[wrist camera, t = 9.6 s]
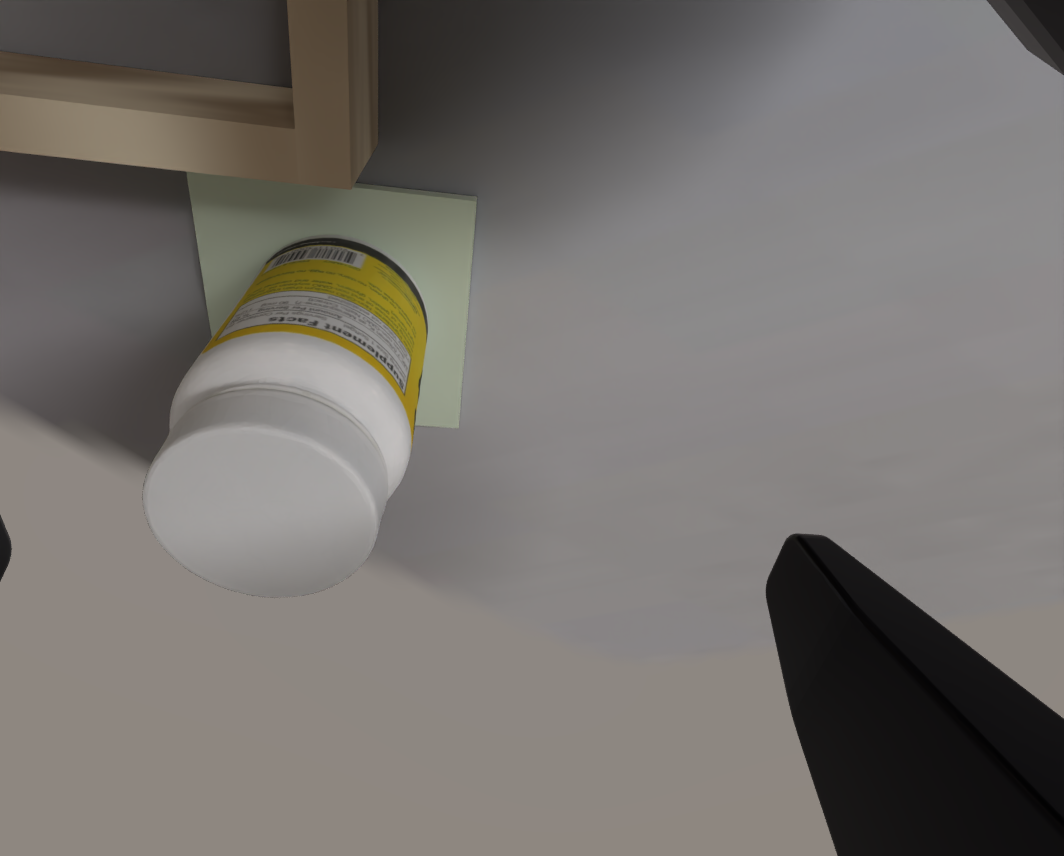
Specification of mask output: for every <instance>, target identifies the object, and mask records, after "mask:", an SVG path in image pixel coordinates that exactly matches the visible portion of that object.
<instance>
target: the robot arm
mask: <svg viewBox="0 0 1064 856" xmlns="http://www.w3.org/2000/svg"><path fill="white" fill-rule="evenodd" d="M987 1H988V2H989V4H990V5H991V6H992V7H993V9H994V10H995V11H996V12H997V13H998V15H999V16H1000V17H1001V18H1002V20H1003V21H1004V22H1005V23H1006V24H1007V26H1008V27H1009V28H1010V29H1011V31H1012V32H1013V33H1014V34H1015V35H1016V37H1017V38H1018V39H1019V40H1020V42H1021V43H1022V44H1023V45H1024V47H1025V48H1026V49H1027V50H1028V51H1030V52H1031V53H1032V54H1034V55H1035V56H1037V57H1038V58H1040V59H1041V60H1043V61H1044V62H1045V63H1047V64H1048V65H1050V66H1051V67H1053V68H1054V69H1055V70H1057V71H1058V72H1060V73H1061V74H1063V75H1064V0H987ZM11 550H12V548H11V540H10V538H9V535H8V532H7V530H6V528H5V525H4V523H3V520H2V518H1V515H0V581H1V579H2V577H3V574H4V572H5V570H6V568H7V566H8V564H9V561H10V557H11ZM766 600H767V605H768V609H769V614H770V619H771V623H772V628H773V633H774V637H775V642H776V647H777V651H778V656H779V660H780V665H781V669H782V674H783V679H784V684H785V688H786V693H787V697H788V701H789V706H790V710H791V714H792V717H793V721H794V724H795V727H796V730H797V734H798V736H799V740H800V743H801V746H802V749H803V752H804V755H805V758H806V761H807V764H808V767H809V770H810V773H811V777H812V780H813V782H814V786H815V789H816V792H817V795H818V798H819V801H820V804H821V807H822V810H823V813H824V816H825V819H826V822H827V825H828V828H829V831H830V834H831V837H832V840H833V843H834V846H835V849H836V852H837V855H838V856H1064V718H1062V717H1061V716H1060V715H1058V714H1057V713H1056V712H1054V711H1053V710H1052V709H1050V708H1049V707H1048V706H1047V705H1045V704H1044V703H1043V702H1041V701H1040V700H1039V699H1037V698H1036V697H1035V696H1034V695H1032V694H1031V693H1030V692H1028V691H1027V690H1026V689H1024V688H1023V687H1022V686H1020V685H1019V684H1018V683H1017V682H1015V681H1014V680H1013V679H1011V678H1010V677H1009V676H1008V675H1006V674H1005V673H1004V672H1002V671H1001V670H1000V669H998V668H997V667H996V666H994V665H993V664H992V663H991V662H989V661H988V660H987V659H985V658H984V657H983V656H981V655H980V654H979V653H978V652H976V651H975V650H974V649H972V648H971V647H970V646H968V645H967V644H966V643H965V642H963V641H962V640H960V639H959V638H958V637H957V636H955V635H954V634H953V633H952V632H950V631H949V630H948V629H946V628H945V627H944V626H942V625H941V624H940V623H939V622H937V621H936V620H935V619H933V618H932V617H931V616H929V615H928V614H927V613H926V612H924V611H923V610H922V609H920V608H919V607H918V606H916V605H915V604H914V603H913V602H911V601H910V600H909V599H907V598H906V597H905V596H903V595H902V594H901V593H899V592H898V591H897V590H896V589H894V588H893V587H892V586H890V585H889V584H888V583H886V582H885V581H884V580H883V579H881V578H880V577H879V576H877V575H876V574H875V573H873V572H872V571H871V570H870V569H868V568H867V567H866V566H864V565H863V564H862V563H860V562H859V561H858V560H857V559H855V558H854V557H853V556H851V555H850V554H849V553H847V552H846V551H845V550H844V549H842V548H841V547H840V546H838V545H837V544H836V543H834V542H833V541H832V540H830V539H829V538H827V537H825V536H822V535H814V534H792V535H790V536H789V537H788V538H787V539H786V541H785V542H784V544H783V547H782V549H781V551H780V553H779V555H778V557H777V560H776V562H775V564H774V566H773V568H772V571H771V573H770V575H769V577H768V580H767V584H766Z"/></svg>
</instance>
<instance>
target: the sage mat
mask: <svg viewBox="0 0 1064 856" xmlns="http://www.w3.org/2000/svg"><path fill="white" fill-rule="evenodd" d="M186 174H187V180H188V187H189V193H190V200H191V206H192V213H193V219H194V226H195V232H196V239H197V245H198V252H199V258H200V265H201V272H202V278H203V285H204V291H205V298H206V304H207V311H208V317H209V324H210V330H211V337H213V336H214V334H215V333H216V331H217V330H218V329H219V327H220V326H221V324H222V323H223V322H224V320H225V319H226V318H227V316H228V315H229V314H230V312H231V311H232V309H233V308H234V306H235V305H236V303H237V302H238V301H239V299H240V298H241V296H242V295H243V294H244V292H245V291H246V289H247V288H248V287H249V285H250V284H251V282H252V281H253V279H254V278H255V277H256V275H257V274H258V272H259V271H260V269H261V268H262V266H263V265H264V264H265V262H266V261H267V260H268V259H269V258H270V257H271V256H272V255H273V254H275V253H276V252H277V251H279V250H280V249H281V248H283V247H285V246H286V245H288V244H290V243H292V242H295V241H297V240H300V239H303V238H306V237H310V236H316V235H342V236H348V237H353V238H356V239H359V240H362V241H365V242H367V243H370V244H372V245H374V246H376V247H378V248H380V249H381V250H383V251H385V252H386V253H388V254H389V255H391V256H392V257H393V258H394V259H396V260H397V261H398V262H399V263H400V264H401V265H402V266H403V267H404V268H405V269H406V270H407V271H408V272H409V274H410V275H411V276H412V278H413V279H414V281H415V282H416V284H417V286H418V287H419V289H420V291H421V294H422V296H423V299H424V302H425V305H426V310H427V315H428V335H427V343H426V350H425V357H424V364H423V372H422V378H421V385H420V394H419V400H418V405H417V411H416V422H415V425H418V426H432V427H445V428H459V416H460V404H461V391H462V379H463V366H464V354H465V341H466V329H467V317H468V304H469V292H470V279H471V267H472V254H473V242H474V229H475V217H476V205H477V197H475V196H466V195H458V194H449V193H440V192H431V191H422V190H413V189H405V188H396V187H387V186H378V185H369V184H360V183H355V184H354V186H353V187H352V189H351V190H347V189H338V188H329V187H320V186H312V185H303V184H294V183H285V182H276V181H267V180H258V179H249V178H240V177H231V176H222V175H213V174H204V173H195V172H187V171H186Z"/></svg>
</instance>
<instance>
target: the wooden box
mask: <svg viewBox="0 0 1064 856" xmlns="http://www.w3.org/2000/svg"><path fill="white" fill-rule="evenodd" d="M287 11H288V27H289V43H290V58H291V74H292V88H285V87H278V86H270V85H262V84H254V83H246V82H238V81H231V80H223V79H215V78H207V77H199V76H191V75H183V74H176V73H168V72H160V71H152V70H144V69H136V68H129V67H121V66H113V65H105V64H97V63H89V62H82V61H74V60H66V59H58V58H50V57H42V56H34V55H27V54H19V53H11V52H3V51H0V151H8V152H17V153H26V154H35V155H44V156H53V157H62V158H71V159H79V160H88V161H97V162H106V163H115V164H124V165H133V166H142V167H151V168H160V169H169V170H178V171H187V172H195V173H204V174H213V175H222V176H231V177H240V178H249V179H258V180H267V181H276V182H285V183H294V184H303V185H312V186H320V187H329V188H338V189H347V190H351V189H352V187H353V186H354V184H355V182H356V181H357V179H358V177H359V176H360V174H361V172H362V170H363V169H364V167H365V165H366V164H367V162H368V160H369V159H370V157H371V155H372V153H373V152H374V150H375V148H376V147H377V145H378V0H287Z"/></svg>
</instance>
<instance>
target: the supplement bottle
mask: <svg viewBox="0 0 1064 856" xmlns="http://www.w3.org/2000/svg"><path fill="white" fill-rule="evenodd" d="M427 335H428V315H427V310H426V305H425V302H424V299H423V296H422V294H421V291H420V289H419V287H418V286H417V284H416V282H415V281H414V279H413V278H412V276H411V275H410V274H409V272H408V271H407V270H406V269H405V268H404V267H403V266H402V265H401V264H400V263H399V262H398V261H397V260H396V259H394V258H393V257H392V256H391V255H389V254H388V253H386V252H385V251H383V250H381V249H380V248H378V247H376V246H374V245H372V244H370V243H367V242H365V241H362V240H359V239H356V238H353V237H348V236H342V235H316V236H310V237H306V238H303V239H300V240H297V241H295V242H292V243H290V244H288V245H286V246H285V247H283V248H281V249H280V250H279V251H277V252H276V253H275V254H273V255H272V256H271V257H270V258H269V259H268V260H267V261H266V262H265V264H264V265H263V266H262V268H261V269H260V271H259V272H258V274H257V275H256V277H255V278H254V279H253V281H252V282H251V284H250V285H249V287H248V288H247V289H246V291H245V292H244V294H243V295H242V296H241V298H240V299H239V301H238V302H237V303H236V305H235V306H234V308H233V309H232V311H231V312H230V314H229V315H228V316H227V318H226V319H225V320H224V322H223V323H222V324H221V326H220V327H219V329H218V330H217V331H216V333H215V334H214V336H213V337H212V338H211V340H210V341H209V343H208V344H207V345H206V347H205V348H204V350H203V351H202V352H201V354H200V355H199V356H198V358H197V359H196V361H195V362H194V363H193V365H192V366H191V367H190V369H189V370H188V372H187V373H186V375H185V376H184V378H183V380H182V381H181V383H180V385H179V387H178V389H177V391H176V393H175V395H174V398H173V401H172V405H171V409H170V423H169V429H170V432H169V435H168V437H167V439H166V440H165V442H164V444H163V445H162V447H161V448H160V450H159V452H158V453H157V455H156V457H155V458H154V460H153V462H152V464H151V466H150V467H149V469H148V472H147V474H146V477H145V481H144V484H143V494H142V495H143V496H142V497H143V498H142V500H143V508H144V513H145V515H146V518H147V522H148V524H149V527H150V529H151V531H152V533H153V535H154V536H155V538H156V539H157V541H158V542H159V543H160V544H161V546H162V547H163V548H164V549H165V551H166V552H167V553H168V554H170V555H171V556H172V557H173V558H174V559H175V560H176V561H177V562H178V563H180V564H181V565H182V566H183V567H185V568H186V569H188V570H189V571H190V572H192V573H194V574H195V575H197V576H199V577H201V578H203V579H204V580H206V581H208V582H211V583H213V584H215V585H217V586H220V587H223V588H225V589H228V590H231V591H234V592H239V593H243V594H247V595H252V596H259V597H272V598H273V597H296V596H304V595H309V594H313V593H317V592H320V591H323V590H325V589H328V588H330V587H333V586H335V585H337V584H339V583H340V582H342V581H344V580H345V579H347V578H348V577H350V576H351V575H352V574H353V573H354V572H356V571H357V570H358V569H359V568H360V567H361V566H362V565H363V564H364V562H365V561H366V560H367V558H368V557H369V555H370V553H371V551H372V549H373V547H374V545H375V542H376V539H377V535H378V531H379V527H380V523H381V519H382V516H383V513H384V510H385V507H386V503H387V500H388V499H389V498H390V497H391V495H392V494H393V492H394V491H395V490H396V488H397V487H398V485H399V484H400V482H401V480H402V478H403V476H404V474H405V471H406V469H407V465H408V462H409V458H410V454H411V448H412V442H413V434H414V427H415V422H416V411H417V405H418V400H419V394H420V385H421V378H422V372H423V364H424V357H425V350H426V343H427Z"/></svg>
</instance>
